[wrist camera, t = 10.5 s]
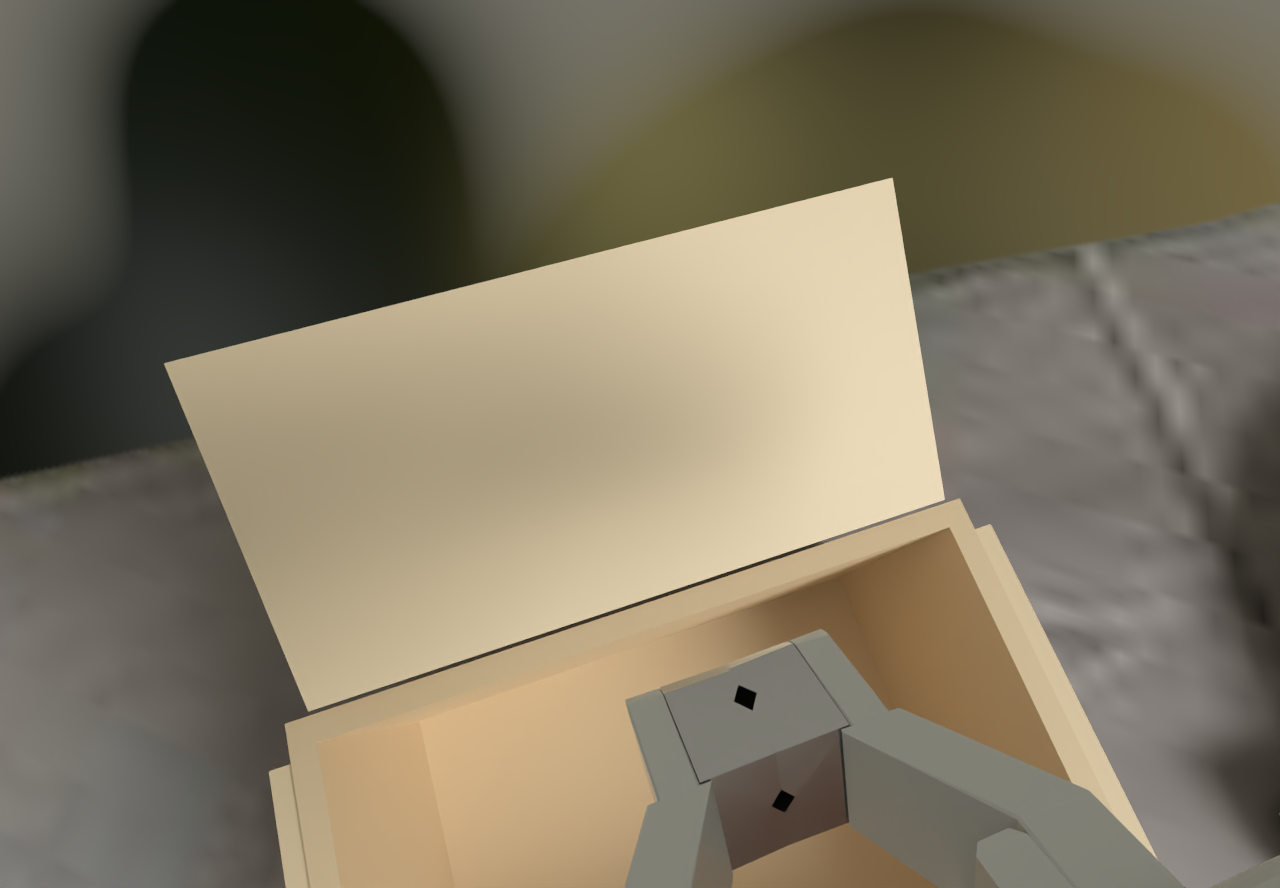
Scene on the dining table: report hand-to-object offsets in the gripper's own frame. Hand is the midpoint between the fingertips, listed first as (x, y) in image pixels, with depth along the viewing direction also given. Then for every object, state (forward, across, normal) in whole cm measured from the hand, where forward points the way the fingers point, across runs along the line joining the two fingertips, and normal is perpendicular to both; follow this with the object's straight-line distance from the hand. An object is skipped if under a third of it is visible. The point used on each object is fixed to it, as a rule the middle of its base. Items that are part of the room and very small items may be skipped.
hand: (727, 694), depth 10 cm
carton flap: (+8, 0, +5) cm, 9 cm away
